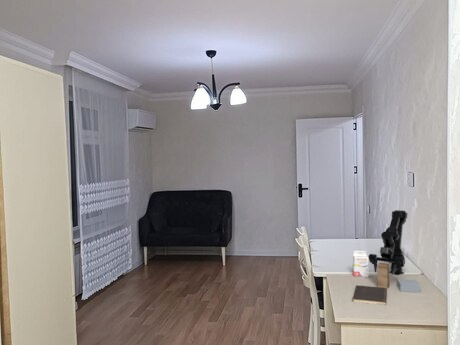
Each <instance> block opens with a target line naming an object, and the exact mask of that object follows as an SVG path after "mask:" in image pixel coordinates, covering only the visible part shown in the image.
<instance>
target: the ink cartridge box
mask: <svg viewBox="0 0 460 345" xmlns="http://www.w3.org/2000/svg"><path fill="white" fill-rule="evenodd" d="M368 257H369V255H368V251H367V250H353V254H352V275H353V276H354V277H366V278H368V277H369V263H370V261H369V258H368Z"/></svg>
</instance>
